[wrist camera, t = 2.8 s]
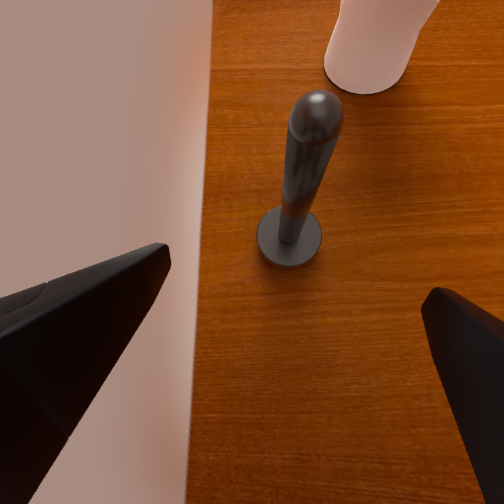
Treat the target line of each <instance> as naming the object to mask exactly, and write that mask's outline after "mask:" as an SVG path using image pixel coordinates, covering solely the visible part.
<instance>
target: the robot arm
mask: <svg viewBox="0 0 504 504" xmlns="http://www.w3.org/2000/svg"><path fill="white" fill-rule="evenodd" d="M170 268H171V259H170V252H169V247H168V245H166V244H162V243H154V244H151V245H148V246H145V247H142V248H140V249H137V250H134V251H131V252H129V253H126V254H123V255H120V256H118V257H115V258H112V259H109V260H106V261H104V262H101V263H98V264H95V265H93V266H90V267H87V268H84V269H82V270H79V271H76V272H73V273H70V274H67V275H65V276H62V277H59V278H56V279H54V280H51V281H49V282H48V283H42V284H40V285H37V286H34V287H31V288H28V289H25V290H23V291H20V292H17V293H14V294H11V295H8V296H5V297H2V298H0V504H28V503H29V501H30V500H31V498H32V497H33V495H34V493H35V492H36V490H37V489H38V487H39V485H40V484H41V482H42V480H43V479H44V477H45V476H46V474H47V473H48V471H49V470H50V468H51V466H52V465H53V463H54V462H55V460H56V458H57V457H58V455H59V453H60V452H61V450H62V449H63V447H64V446H65V444H66V442H67V441H68V437H70V436H71V434H72V433H73V431H74V429H75V428H76V426H77V425H78V423H79V421H80V420H81V418H82V417H83V415H84V413H85V412H86V410H87V408H88V407H89V405H90V404H91V402H92V401H93V399H94V397H95V396H96V394H97V393H98V391H99V390H100V388H101V386H102V385H103V383H104V381H105V380H106V378H107V377H108V375H109V374H110V372H111V370H112V369H113V367H114V366H115V364H116V362H117V361H118V359H119V358H120V356H121V354H122V353H123V351H124V350H125V348H126V346H127V345H128V343H129V342H130V340H131V339H132V337H133V335H134V334H135V332H136V331H137V329H138V327H139V326H140V324H141V323H142V321H143V319H144V318H145V316H146V315H147V313H148V311H149V310H150V308H151V306H152V305H153V303H154V301H155V299H156V297H157V295H158V293H159V291H160V289H161V287H162V285H163V283H164V281H165V279H166V277H167V275H168V272H169V270H170ZM421 314H422V318H423V322H424V326H425V330H426V335H427V339H428V343H429V347H430V351H431V354H432V357H433V360H434V363H435V366H436V369H437V372H438V374H439V377H440V380H441V382H442V385H443V388H444V391H445V393H446V396H447V399H448V402H449V404H450V407H451V410H452V412H453V415H454V418H455V421H456V423H457V426H458V429H459V431H460V434H461V437H462V440H463V442H464V445H465V448H466V451H467V453H468V456H469V459H470V461H471V464H472V467H473V470H474V472H475V475H476V478H477V480H478V483H479V486H480V489H481V491H482V494H483V497H484V499H485V502H486V504H504V322H503V321H501V320H500V319H498V318H496V317H495V316H493V315H491V314H490V313H488V312H487V311H485V310H483V309H482V308H480V307H478V306H477V305H475V304H474V303H472V302H470V301H469V300H467V299H466V298H464V297H462V296H461V295H459V294H457V293H456V292H454V291H453V290H451V289H446V288H440V287H436V288H433V289H432V290H431V292H430V293H429V295H428V296H427V298H426V300H425V301H424V303H423V304H422V307H421Z"/></svg>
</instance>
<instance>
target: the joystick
mask: <svg viewBox="0 0 504 504" xmlns="http://www.w3.org/2000/svg"><path fill="white" fill-rule="evenodd" d="M343 123H344V110H343V107H342V104H341V102H340V100H339V99H338V98H337V97H336V95H335V94H333V93H332V92H330V91H327V90H322V89H317V90H312V91H310V92H307V93H306V94H304V95H302V96H301V97H300V98H299V99H298V100H297V101H296V103H295V104H294V106H293V108H292V110H291V112H290V116H289V120H288V131H287V142H286V154H285V165H284V176H283V187H282V199H281V206H277V207H275V208H273V209H271V210H270V211H268V212H267V213H266V214H265V215H264V216H263V217H262V219H261V220H260V222H259V225H258V228H257V243H258V247H259V251H260V253H261V255H262V257H263V258H264V259H265V260H266V261H267V262H268V263H269V264H270V265H272V266H273V267H276V268H278V269H282V270H294V269H298V268H300V267H302V266H304V265H305V264H307V263H308V262H309V261H310V260H311V259H312V258H313V256H314V255H315V254H316V253H317V251H318V249H319V247H320V244H321V239H322V232H321V227H320V224H319V222H318V220H317V219H316V217H315V216H314V215H313V214H312V213H311V212H310V208H311V206H312V203H313V201H314V198H315V196H316V193H317V191H318V188H319V185H320V183H321V180H322V178H323V175H324V173H325V170H326V168H327V165H328V163H329V160H330V158H331V155H332V153H333V150H334V148H335V145H336V143H337V140H338V138H339V135H340V132H341V130H342V127H343Z"/></svg>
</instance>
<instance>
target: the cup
mask: <svg viewBox="0 0 504 504" xmlns="http://www.w3.org/2000/svg"><path fill="white" fill-rule="evenodd" d="M439 1H440V0H341V5H340V14H339V18H338V20H337V23H336V25H335V28H334V31H333V33H332V36H331V39H330V42H329V45H328V48H327V51H326V54H325V57H324V68H325V71H326V74H327V76H328V77H329V78H330V80H331V81H332V82H333V83H334V84H336V85H337V86H338V87H339V88H341V89H344V90H346V91H348V92H352V93H357V94H372V93H377V92H381V91H383V90H385V89H387V88H389V87H391V86H392V85H394V84H395V83H396V82H397V81H398V80H399V79H400V77H401V76H402V74H403V72H404V70H405V68H406V66H407V63H408V61H409V59H410V56H411V53H412V51H413V48H414V45H415V43H416V40H417V37H418V35H419V32H420V29H421V28H422V26H423V25H424V24H425V22H426V21H427V19H428V18H429V16H430V15H431V13H432V12H433V10H434V9H435V7H436V6H437V4H438V3H439Z"/></svg>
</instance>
